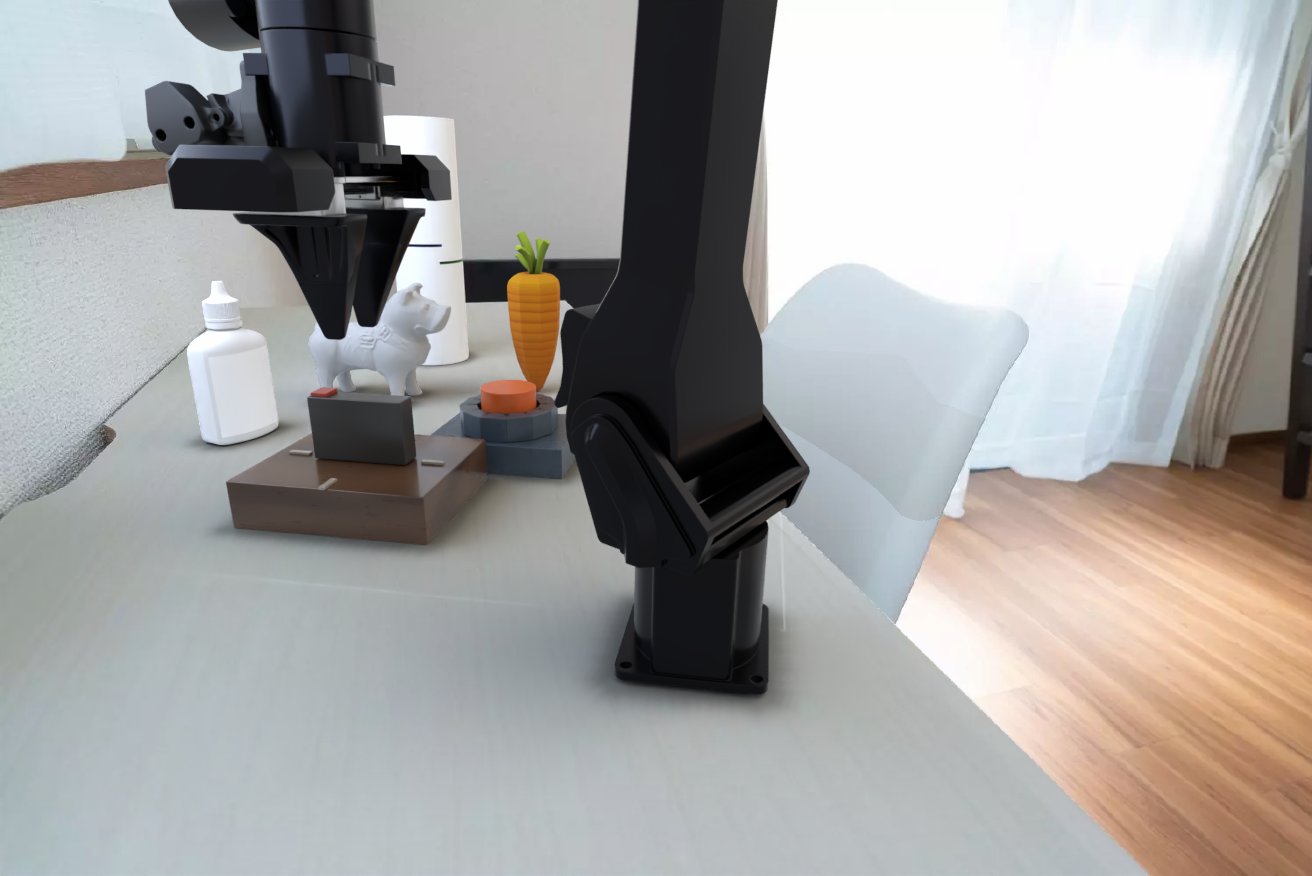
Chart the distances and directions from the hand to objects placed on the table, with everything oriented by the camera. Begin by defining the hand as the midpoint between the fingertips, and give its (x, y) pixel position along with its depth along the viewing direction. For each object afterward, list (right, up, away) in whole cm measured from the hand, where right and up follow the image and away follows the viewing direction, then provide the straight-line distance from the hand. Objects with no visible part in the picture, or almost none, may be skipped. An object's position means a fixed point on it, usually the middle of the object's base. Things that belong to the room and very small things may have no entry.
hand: (352, 332), depth 45 cm
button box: (+7, -8, +12) cm, 16 cm away
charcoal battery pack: (0, -7, +3) cm, 8 cm away
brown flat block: (0, -10, +4) cm, 11 cm away
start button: (+7, -4, +11) cm, 14 cm away
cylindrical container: (-7, +3, +41) cm, 41 cm away
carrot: (+7, -2, +29) cm, 29 cm away
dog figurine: (-7, -3, +26) cm, 27 cm away
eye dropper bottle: (-15, -6, +15) cm, 22 cm away
